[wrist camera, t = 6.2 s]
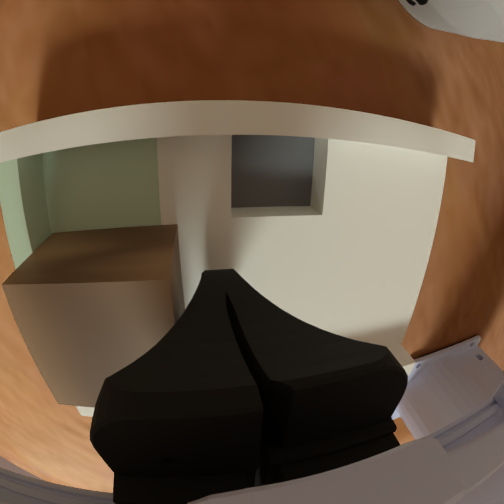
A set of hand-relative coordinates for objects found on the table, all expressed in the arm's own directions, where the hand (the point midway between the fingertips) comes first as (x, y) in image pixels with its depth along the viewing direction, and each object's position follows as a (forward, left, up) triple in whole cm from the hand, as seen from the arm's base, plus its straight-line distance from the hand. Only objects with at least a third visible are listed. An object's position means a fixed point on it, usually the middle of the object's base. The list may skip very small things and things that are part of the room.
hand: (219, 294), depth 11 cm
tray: (-2, 0, -2) cm, 3 cm away
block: (+4, 0, -1) cm, 4 cm away
